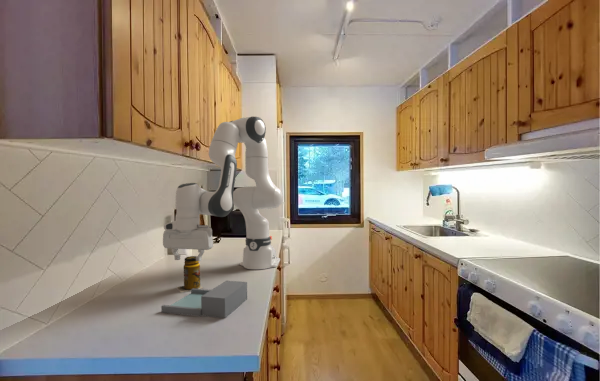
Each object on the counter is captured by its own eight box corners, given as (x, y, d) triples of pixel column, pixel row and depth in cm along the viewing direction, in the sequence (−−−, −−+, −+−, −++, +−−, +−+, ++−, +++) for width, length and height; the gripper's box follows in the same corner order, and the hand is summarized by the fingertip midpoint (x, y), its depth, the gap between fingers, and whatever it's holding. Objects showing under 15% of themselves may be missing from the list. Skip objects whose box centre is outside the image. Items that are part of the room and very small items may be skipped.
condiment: (203, 288, 122) (202, 257, 121) (180, 293, 117) (179, 261, 117) (198, 283, 128) (197, 254, 127) (176, 287, 123) (175, 257, 123)
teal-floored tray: (192, 293, 116) (192, 277, 116) (247, 298, 110) (247, 281, 110) (161, 312, 99) (161, 293, 99) (224, 318, 94) (223, 299, 94)
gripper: (216, 224, 122) (216, 259, 122) (170, 223, 127) (170, 257, 127) (207, 226, 116) (207, 263, 116) (160, 225, 121) (160, 260, 121)
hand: (188, 260), depth 122 cm, fingers open, 8 cm apart
